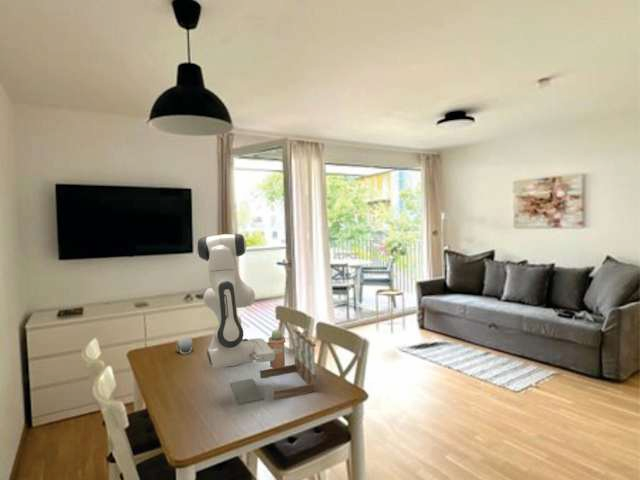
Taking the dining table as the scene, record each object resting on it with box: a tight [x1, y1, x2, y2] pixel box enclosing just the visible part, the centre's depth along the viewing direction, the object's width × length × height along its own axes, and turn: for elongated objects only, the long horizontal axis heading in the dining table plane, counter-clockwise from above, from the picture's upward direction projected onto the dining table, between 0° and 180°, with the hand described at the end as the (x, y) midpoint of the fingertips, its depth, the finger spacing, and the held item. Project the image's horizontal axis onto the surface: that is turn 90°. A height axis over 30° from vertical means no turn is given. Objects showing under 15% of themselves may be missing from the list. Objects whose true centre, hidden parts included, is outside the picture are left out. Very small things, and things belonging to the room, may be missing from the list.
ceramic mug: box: [175, 335, 194, 356], centre depth 205 cm, size 11×8×8 cm
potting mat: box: [230, 378, 265, 405], centre depth 156 cm, size 20×10×1 cm, turn 23°
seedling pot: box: [268, 329, 286, 368], centre depth 161 cm, size 7×7×16 cm
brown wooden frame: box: [259, 328, 317, 401], centre depth 163 cm, size 24×18×20 cm
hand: (278, 347), depth 161 cm, fingers closed on seedling pot, 6 cm apart
